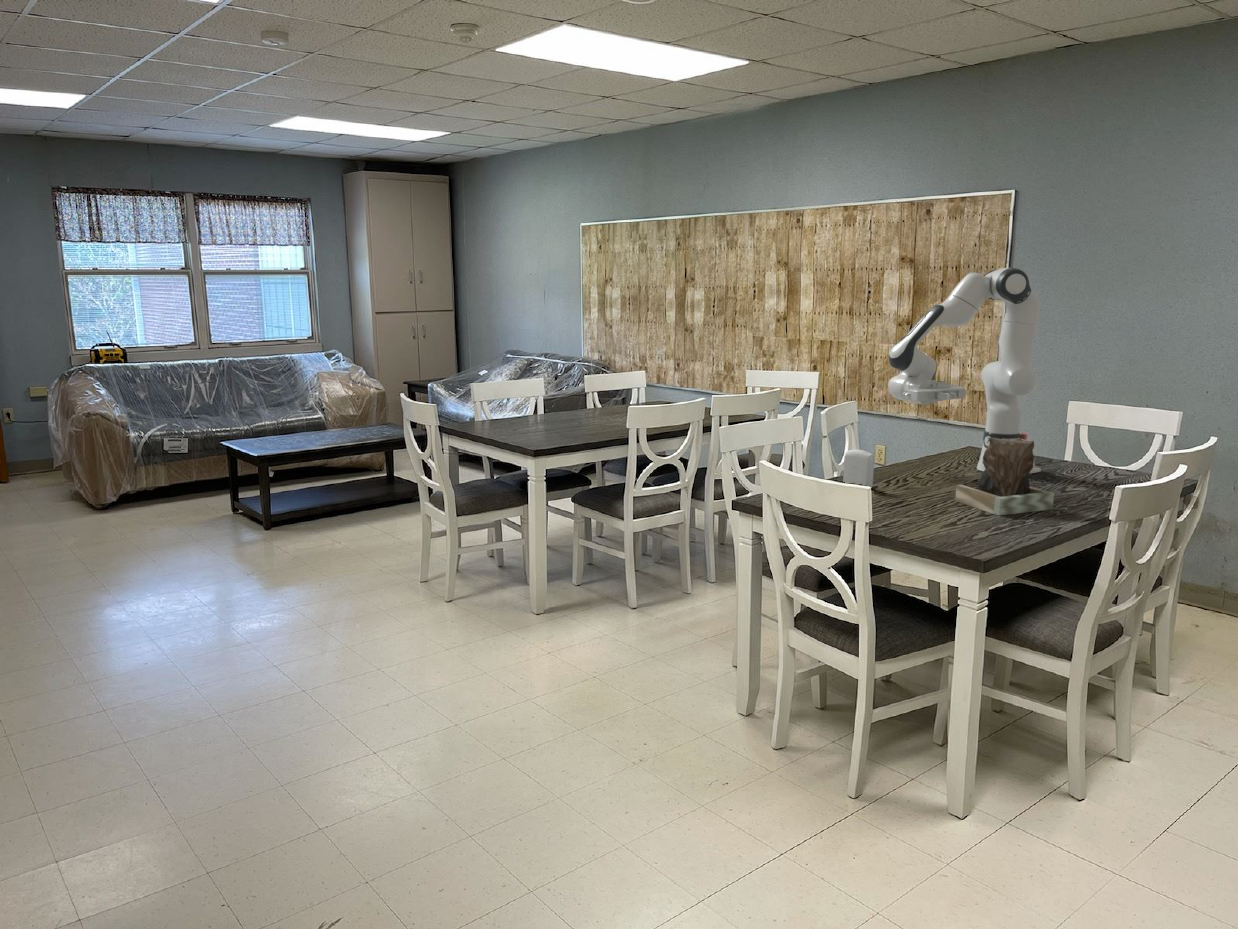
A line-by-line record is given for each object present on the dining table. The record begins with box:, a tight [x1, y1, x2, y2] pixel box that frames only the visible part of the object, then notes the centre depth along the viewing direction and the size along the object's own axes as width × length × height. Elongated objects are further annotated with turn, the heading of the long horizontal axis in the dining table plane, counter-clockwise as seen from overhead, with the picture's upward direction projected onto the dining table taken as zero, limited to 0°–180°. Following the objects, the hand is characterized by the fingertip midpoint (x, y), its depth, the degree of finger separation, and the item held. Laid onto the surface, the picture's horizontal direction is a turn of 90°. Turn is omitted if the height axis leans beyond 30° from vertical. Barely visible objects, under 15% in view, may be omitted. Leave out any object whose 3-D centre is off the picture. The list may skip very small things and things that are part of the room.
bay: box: [954, 484, 1055, 516], centre depth 274 cm, size 21×18×5 cm
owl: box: [976, 438, 1035, 497], centre depth 275 cm, size 13×13×20 cm
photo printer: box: [842, 449, 875, 488], centre depth 295 cm, size 10×4×12 cm, turn 39°
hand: (952, 396), depth 297 cm, fingers closed
